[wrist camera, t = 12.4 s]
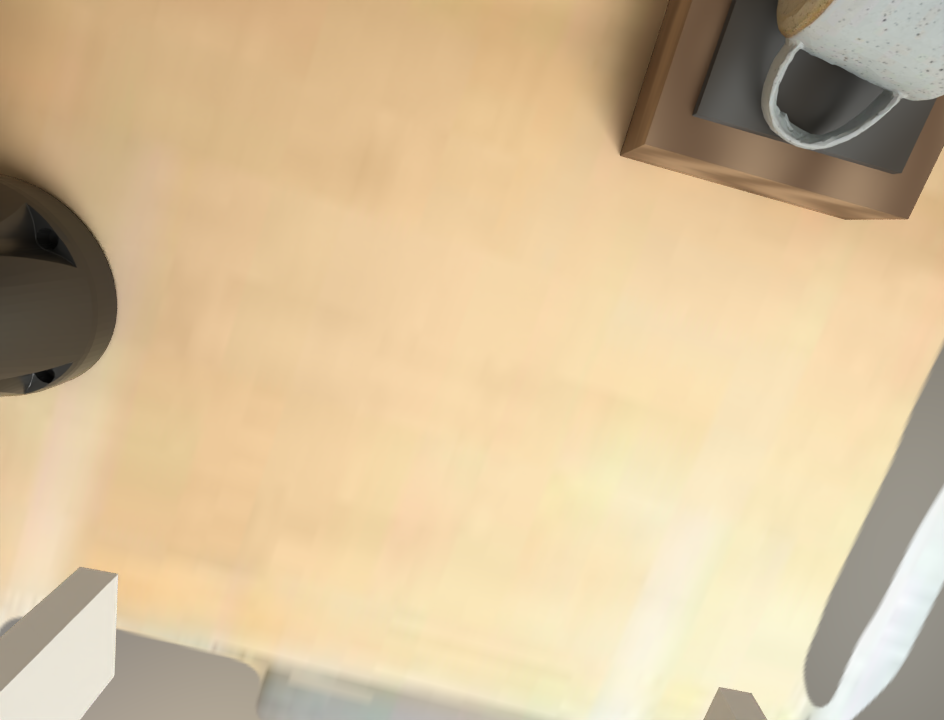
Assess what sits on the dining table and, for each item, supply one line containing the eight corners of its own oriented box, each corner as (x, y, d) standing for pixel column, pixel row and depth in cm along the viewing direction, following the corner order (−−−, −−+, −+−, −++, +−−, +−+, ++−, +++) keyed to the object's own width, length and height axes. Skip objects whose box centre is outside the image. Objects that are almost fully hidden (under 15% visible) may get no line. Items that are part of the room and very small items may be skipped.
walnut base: (619, 155, 32) (648, 142, 27) (713, -138, 28) (769, -223, 23) (845, 219, 33) (917, 219, 28) (969, -55, 29) (1082, -119, 23)
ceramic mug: (812, -107, 24) (962, -251, 16) (961, -44, 24) (1170, -156, 17) (712, 122, 27) (800, 88, 19) (847, 173, 27) (982, 158, 20)
